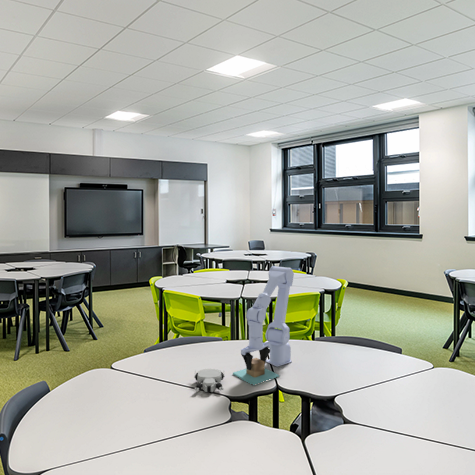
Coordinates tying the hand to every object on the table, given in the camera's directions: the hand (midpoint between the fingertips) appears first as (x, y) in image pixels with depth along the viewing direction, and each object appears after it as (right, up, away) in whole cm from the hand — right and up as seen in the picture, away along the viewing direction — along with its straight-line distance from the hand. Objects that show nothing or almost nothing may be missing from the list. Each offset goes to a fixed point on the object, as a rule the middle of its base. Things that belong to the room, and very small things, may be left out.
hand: (255, 367), depth 176 cm
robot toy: (-19, -5, -9) cm, 22 cm away
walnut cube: (0, -3, 0) cm, 3 cm away
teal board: (0, -4, 0) cm, 4 cm away
